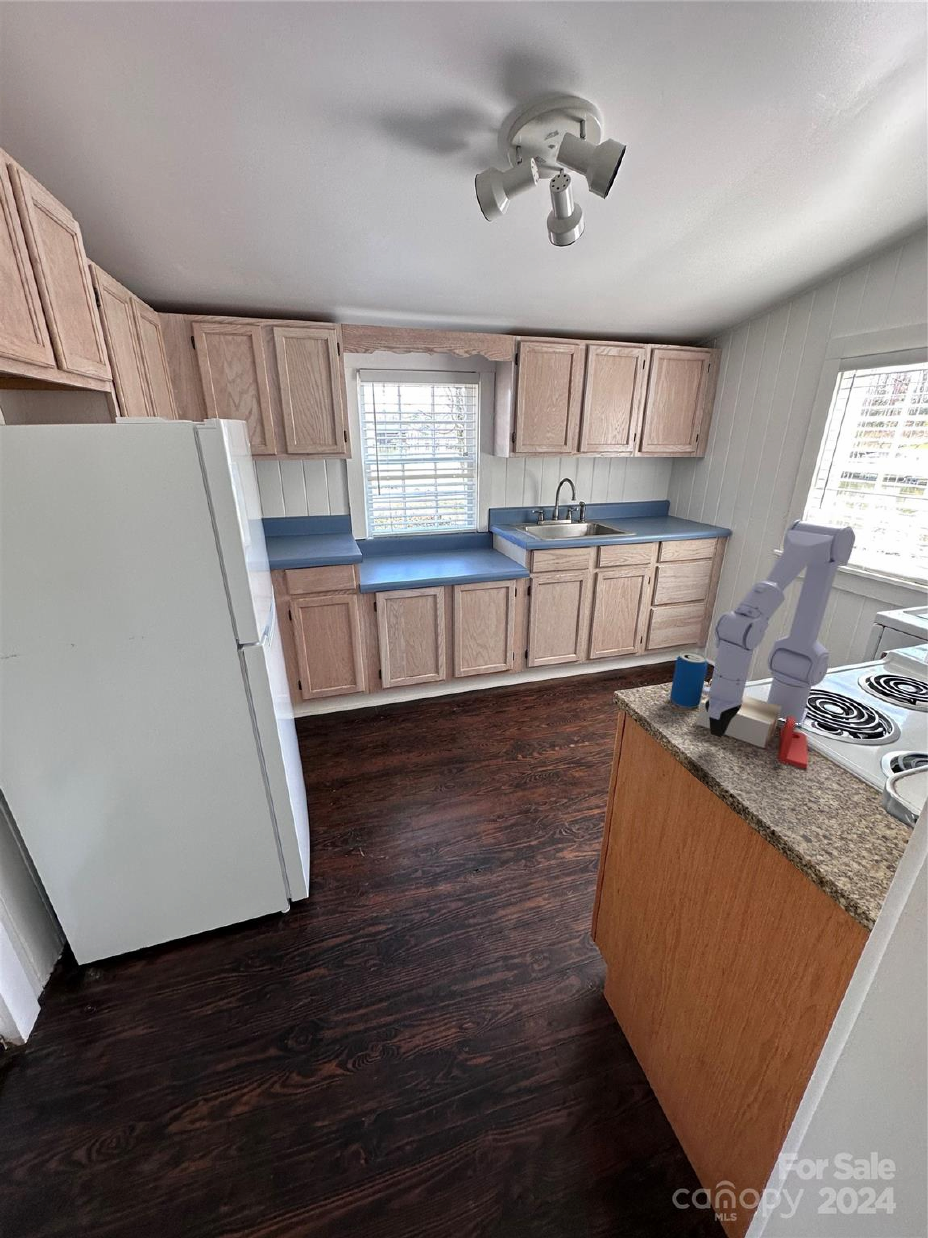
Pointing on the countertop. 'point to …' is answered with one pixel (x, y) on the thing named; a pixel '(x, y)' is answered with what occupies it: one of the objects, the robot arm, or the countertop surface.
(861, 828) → the countertop surface
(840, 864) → the countertop surface
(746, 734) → the door
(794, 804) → the countertop surface
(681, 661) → the beverage can
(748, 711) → the cream rectangular block
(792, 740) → the bracket
